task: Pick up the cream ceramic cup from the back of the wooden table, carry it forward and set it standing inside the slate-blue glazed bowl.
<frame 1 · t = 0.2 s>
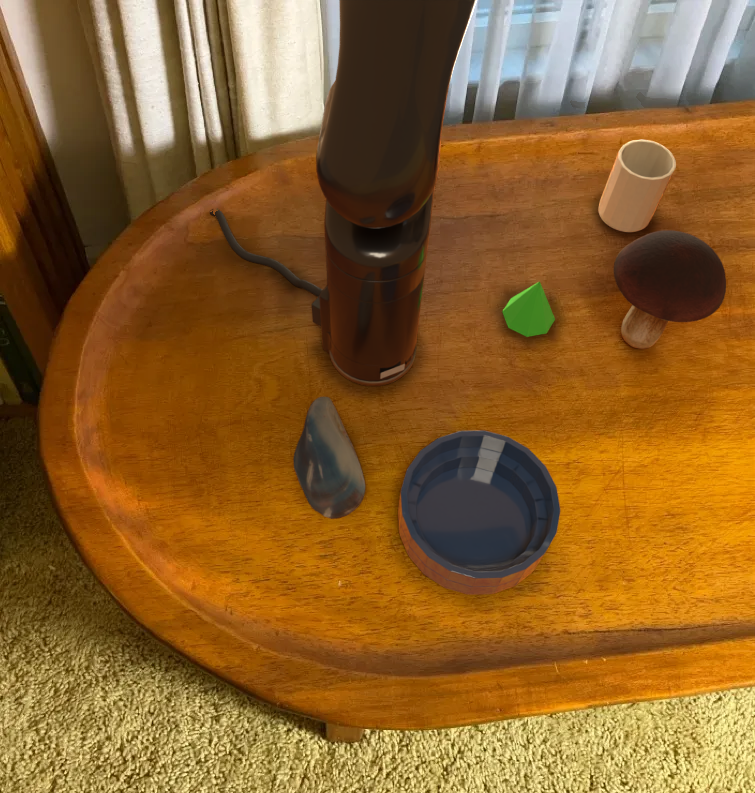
cup: (624, 212, 94), on the table
decorative mushroom: (634, 340, 85), on the table
bowl: (472, 522, 73), on the table
gemstone: (528, 316, 86), on the table
seashell: (334, 471, 75), on the table
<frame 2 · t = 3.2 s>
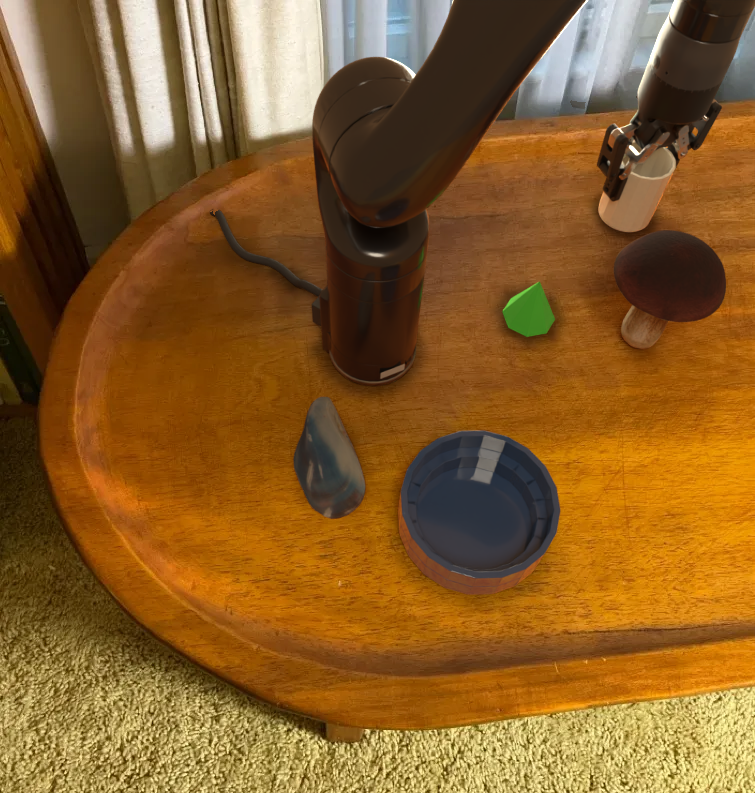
hand: (635, 186, 91), 4 cm above the table, tool pointing down, fingers closed on cup, 6 cm apart
cup: (624, 212, 94), on the table, touching gripper
everything else where it was.
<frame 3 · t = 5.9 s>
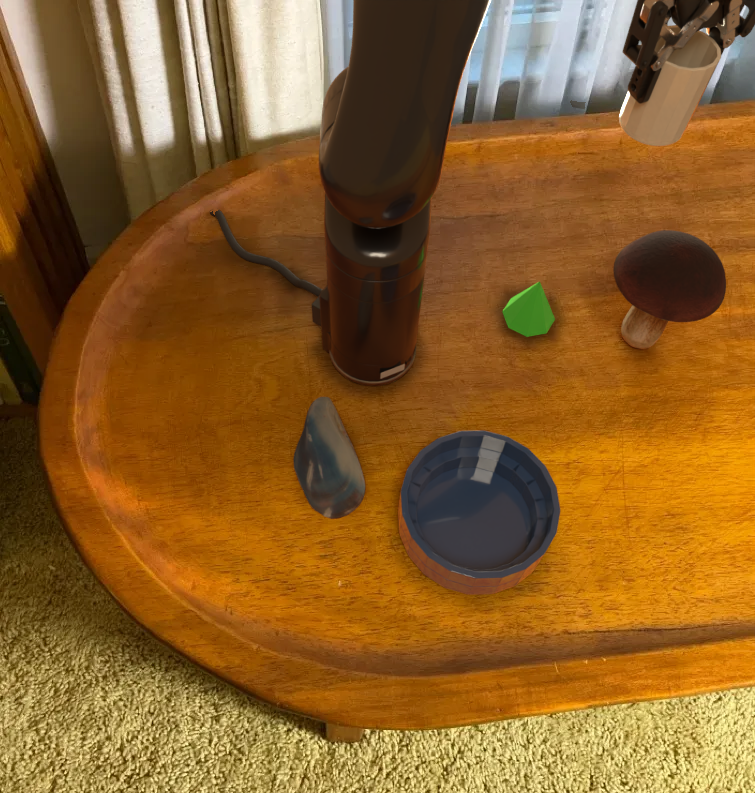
hand: (667, 87, 72), 22 cm above the table, tool pointing down, fingers closed on cup, 6 cm apart
cup: (651, 124, 76), point 18 cm above the table, touching gripper
everything else where it was.
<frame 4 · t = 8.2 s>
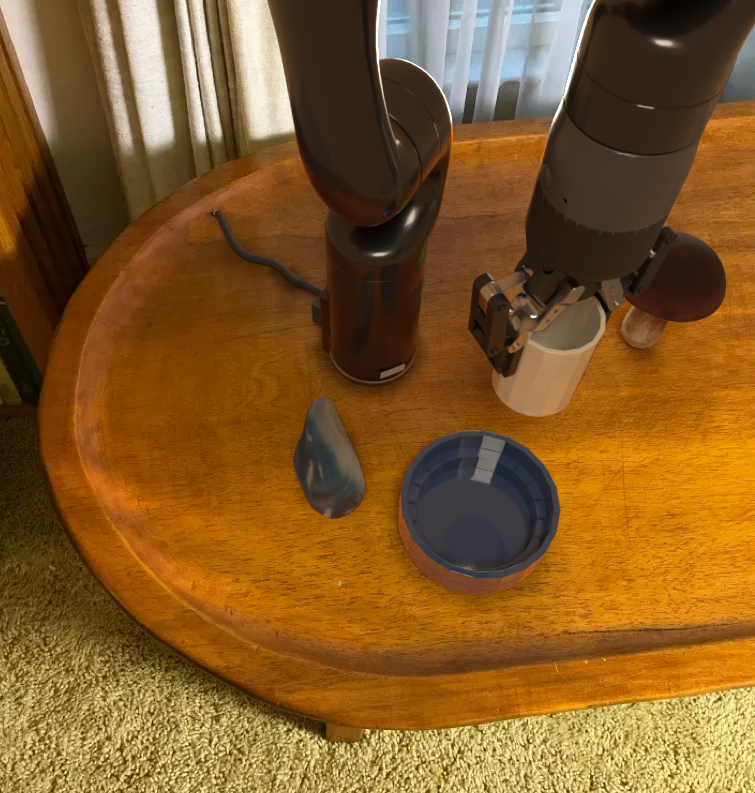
hand: (544, 348, 56), 23 cm above the table, tool pointing down, fingers closed on cup, 6 cm apart
cup: (533, 380, 59), point 19 cm above the table, touching gripper
everything else where it was.
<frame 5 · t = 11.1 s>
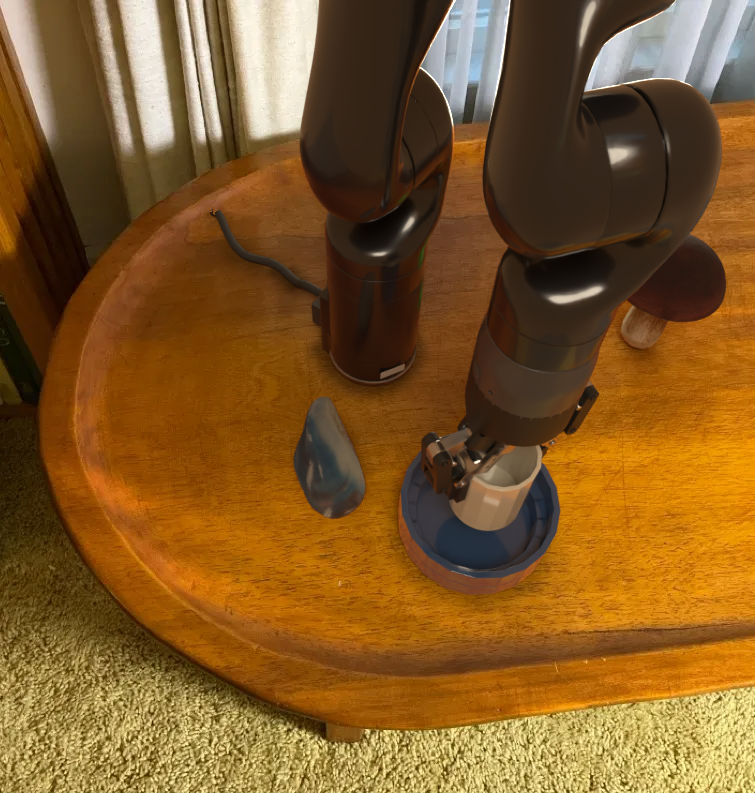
hand: (492, 474, 63), 11 cm above the table, tool pointing down, fingers closed on cup, 6 cm apart
cup: (485, 496, 67), point 7 cm above the table, touching gripper
everything else where it was.
when the fingers open (5 cm above the table, at t = 13.2 s): cup stays where it is, resting on bowl.
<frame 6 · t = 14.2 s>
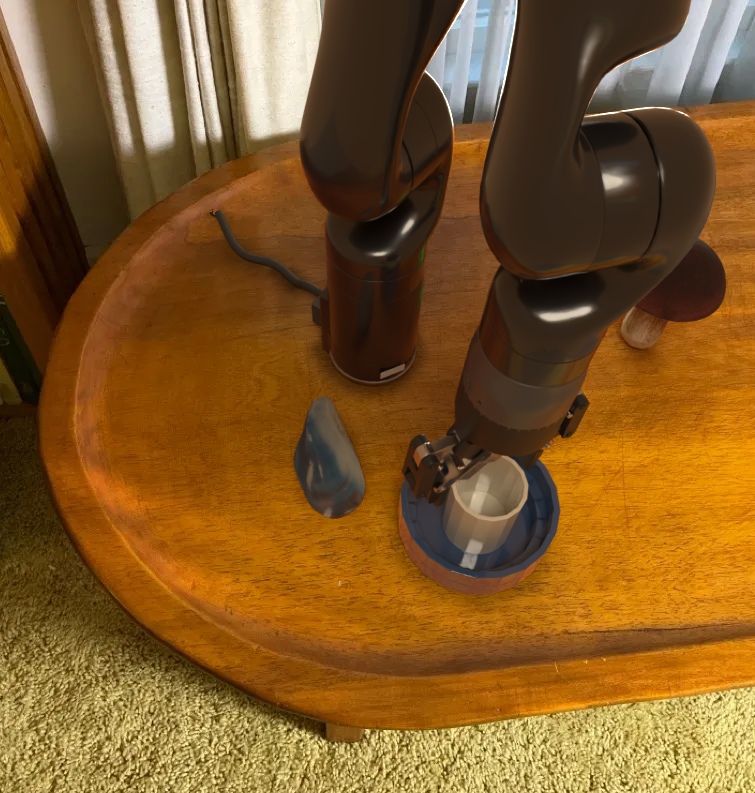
hand: (479, 477, 64), 10 cm above the table, tool pointing down, fingers open, 8 cm apart
cup: (476, 521, 72), point 1 cm above the table, touching bowl
everything else where it was.
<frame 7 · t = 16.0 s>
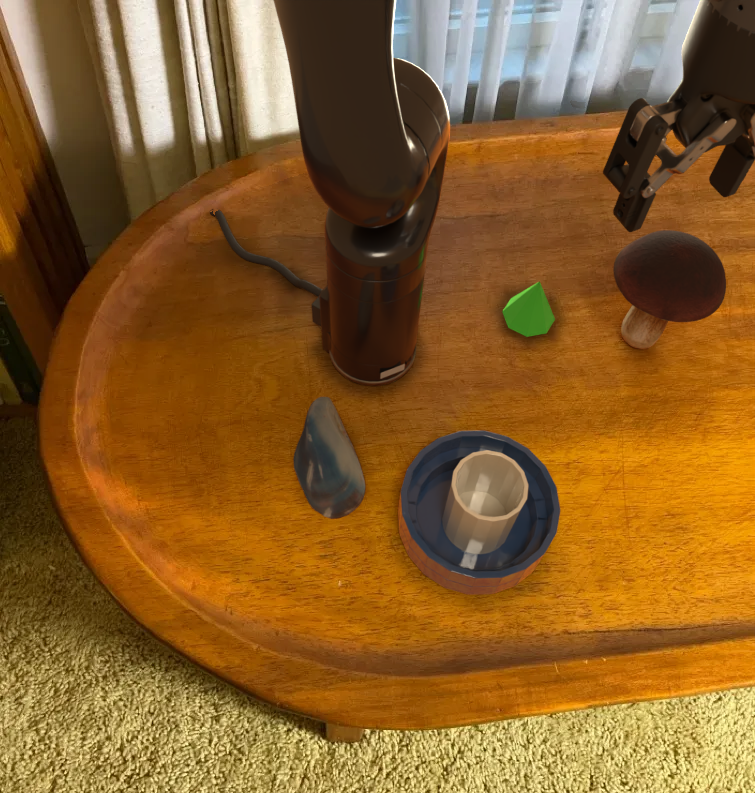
hand: (674, 205, 56), 28 cm above the table, tool pointing down, fingers open, 8 cm apart
nothing on the table moved.
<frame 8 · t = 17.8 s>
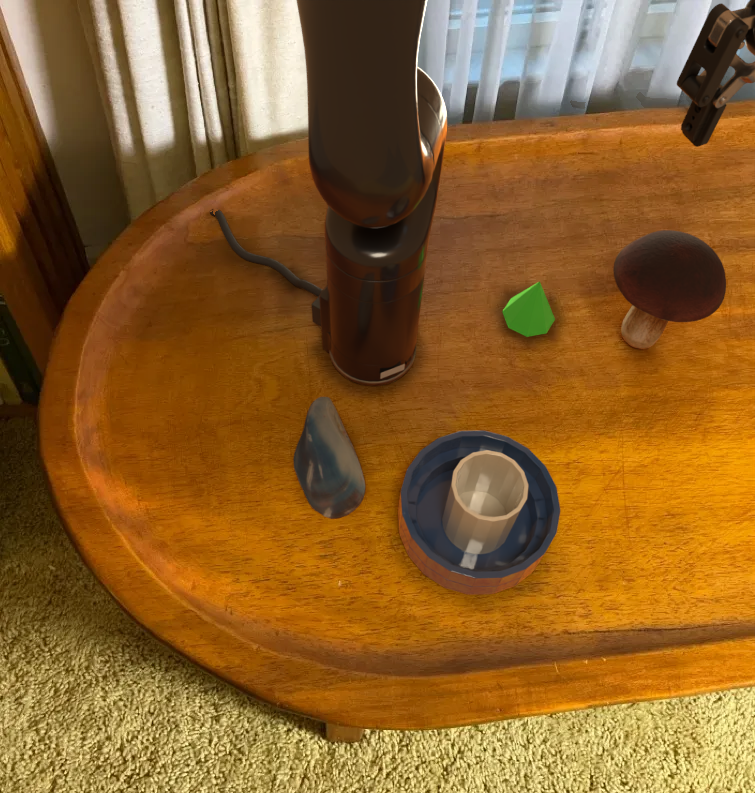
hand: (737, 123, 58), 30 cm above the table, tool pointing down, fingers open, 8 cm apart
nothing on the table moved.
at the end: cup 0.3 cm off-centre in the bowl, point 0.6 cm above the bowl's base; cup tilted 0° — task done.
